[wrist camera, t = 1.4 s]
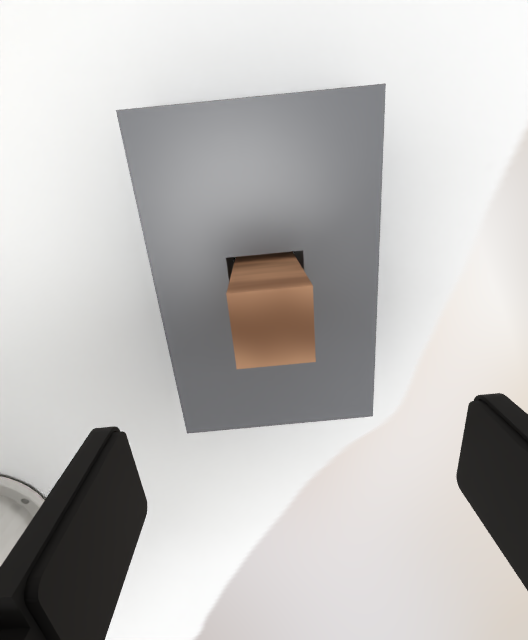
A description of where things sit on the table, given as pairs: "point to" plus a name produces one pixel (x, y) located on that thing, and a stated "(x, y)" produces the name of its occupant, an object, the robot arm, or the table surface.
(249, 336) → the wooden block
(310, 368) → the grey block with hole
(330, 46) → the table surface
